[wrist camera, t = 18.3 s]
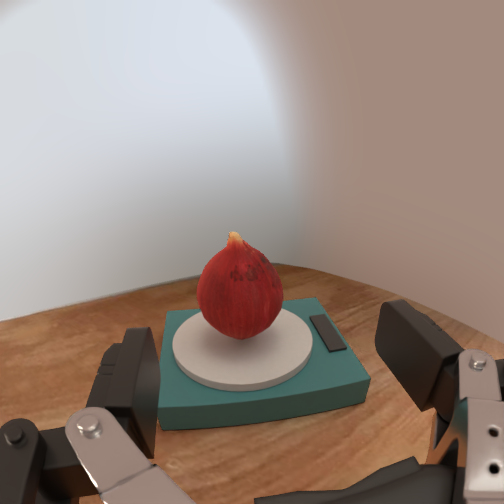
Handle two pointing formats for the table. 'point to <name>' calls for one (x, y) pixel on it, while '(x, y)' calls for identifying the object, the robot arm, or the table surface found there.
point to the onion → (239, 290)
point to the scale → (256, 370)
